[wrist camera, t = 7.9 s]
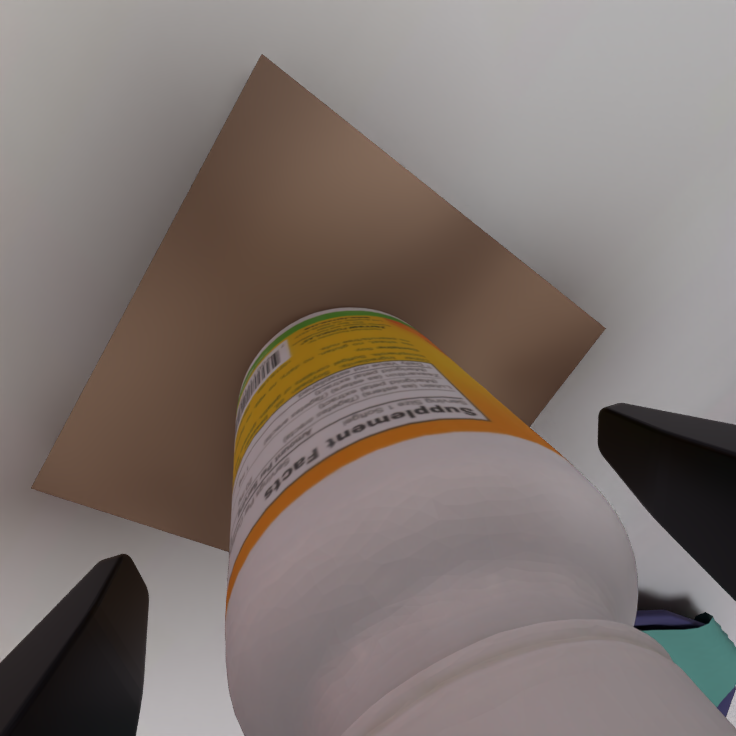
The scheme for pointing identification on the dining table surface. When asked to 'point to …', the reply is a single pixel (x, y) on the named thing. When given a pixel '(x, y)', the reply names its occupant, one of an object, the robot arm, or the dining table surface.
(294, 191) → the walnut board
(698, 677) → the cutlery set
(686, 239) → the dining table surface
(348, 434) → the supplement bottle
